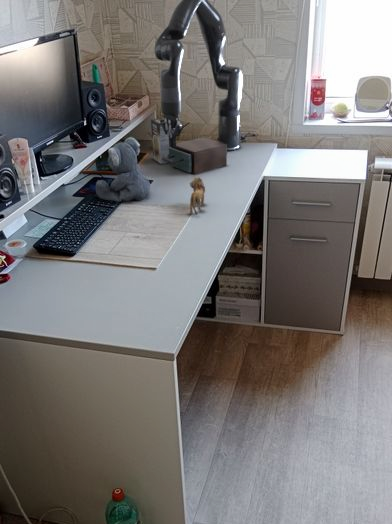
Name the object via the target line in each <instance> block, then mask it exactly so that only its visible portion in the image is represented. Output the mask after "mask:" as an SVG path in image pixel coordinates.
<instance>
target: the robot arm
mask: <svg viewBox="0 0 392 524" xmlns="http://www.w3.org/2000/svg"><path fill="white" fill-rule="evenodd" d="M194 15H195V16H196V19H197V22H198V26H199V29H200V33H201V36H202V39H203V42H204V44H205V45H204V46H205V48H206V52H207V55H208V59H209V63H210V66H211V71H212V76H213V82H214V84H215V86H216V87H217V88H218V89H220V90H223V91H227V95H226V97H224V98H221V99H219V100H218V105H217V107H218V108H217V109H218V116H217V117H218V121H217V122H218V123H217V124H218V125H217V126H218V127H217V128H218V129H217V130H218V131H217V133H218V137H217V140H216V141H218V142H221V143H224V144H227V151H230V152H231V151H236V150H239V149H240V148H241V145H242V144H241V143H245V142H247V141H248V138H247V137H246V136H248V135H253V136H257V133H255V134H251V133H250V132H251V131H248V132H245V133H243V134H242V125H241V124H240V117H241V115H240V114H241V113H240V111H241V109H240V108H241V101H242V95H243V81H244V79H243V78H244V77H243V76H244V75H243V72H242V69H241V68H240V67H237V66H231V65H227V64H226V62H225V57H224V54H223V53H224V48H225V44H226V39H227V31H226V27H225V23H224V20H223V18H222V15H221V14H220V12H219V11H218V9H217V8H216V7H215V6H214V5H213V4H212V3H211V2H210V1H209V0H180V2H179V3H177V5H176V7H174V10H173V11H172V14H171V16H170V18H169V21H168V24H167V26H166V27H165V28H164V30H163V31H162V32H161V34H160V35H159V36H158V38H157V39H156V41H155V44H154V47H153V51H154V52H153V53H154V57H155V58H156V59H157V60H158V61H161V62H162V61H163V62H169V66H168V67H166V68H162V69H161V70H160V74H159V75H160V77H159V78H160V109H161V110H160V112H161V114H163V116H162V117H163V119H162V118H161V119H162V120H160V123H161V125H162V128H163V130H164V132H165V134H167V135H168V137H169V147H172V148H173V147H176V143H177V137H180V136H181V133H182V131H183V129H184V127H185V125H184V123H182V122H180V121H181V119H180V114H181V113H182V93H181V84H180V80H181V79H180V77H181V76H180V74H181V68H182V63H183V58H184V54H185V53H184V52H185V48H184V45H183V43H182V41H181V40H183V39H184V38H185V37H186V35H187V32H188V30H189V27H190V24H191V22H192V20H193V17H194Z"/></svg>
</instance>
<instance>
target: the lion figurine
mask: <svg viewBox="0 0 392 524" xmlns="http://www.w3.org/2000/svg"><path fill="white" fill-rule="evenodd" d="M189 187H190V188H191V189H192V190H193V192H192V193H191V195H190V205H189V214H190V215H192V214H195V215H196V216H198V211H199V212H203V211H204V210H203V209H202V208H201V207H202V206H205V205H206V204H205V203H204V201H205V193H206V186H205V183H204V181H203V179H202V178H201V177H199V176H195V177H194V178H193V180H192V181H191V182H189ZM196 207H197V209H198V211H197V210H196Z"/></svg>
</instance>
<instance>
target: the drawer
mask: <svg viewBox="0 0 392 524" xmlns="http://www.w3.org/2000/svg"><path fill="white" fill-rule="evenodd" d="M162 160H163V161H166V162H168V163H167V164H168V165H169V166H171V167H174V168H176V169H179V170H181V171H183V172H187V173H190V172H192V171H191V169H192V170H193V153H190V152H187V151H184V150H181V149H178V148H175V149H174V148H169V157H162Z"/></svg>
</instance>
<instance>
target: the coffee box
mask: <svg viewBox="0 0 392 524" xmlns="http://www.w3.org/2000/svg"><path fill="white" fill-rule="evenodd" d="M163 118H164V117H163ZM163 118H162V117H161V118H153V119H150V127H151V143H152V144H151V145H152V158H153V160H154V161H156V162H158V163H159V164H160V165H164V164H169V163H168V162H166V161H163V160H162V157H169V148H172V147H169V137H168V135H167V134H165V132H164V130H163V128H162V125H161V123H160V120H162V119H163Z"/></svg>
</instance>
